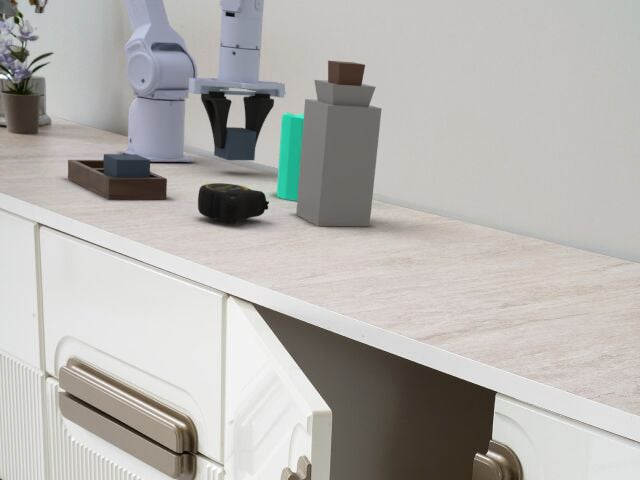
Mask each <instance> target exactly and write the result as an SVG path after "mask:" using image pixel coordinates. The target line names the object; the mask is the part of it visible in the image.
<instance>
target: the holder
mask: <svg viewBox="0 0 640 480" xmlns="http://www.w3.org/2000/svg"><path fill="white" fill-rule="evenodd" d="M67 179H68V180H69V181H70V182H73V183H75V184H77V185H79V186H81V187H82V188H84V189H87V190H88V191H91V192H92V193H95V194H97V195H99V196H101V197H103V198H105V199H106V200H109V201H111V200H114V201H115V200H122V201H123V200H167V197H168V196H167V194H168V193H167V192H168V191H167V189H168V178H166V177H164V176H161V175H159V174H157V173H155V172H153V171H150V178H112V177H110V176H108V175H106V174H104V159H67Z"/></svg>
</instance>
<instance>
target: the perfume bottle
mask: <svg viewBox="0 0 640 480" xmlns="http://www.w3.org/2000/svg"><path fill="white" fill-rule="evenodd" d="M365 68H366V64H364V63H358V62H353V61H341V60H327V80H325V79H324V80H323V79H313V81H314V86H315V94H316V98H317V99H315V98H314V99H311V98H310V99H309V98H305V99H304V107H303V108H304V109H303V114H304V121H303V134H302V147H301V160H300V173H299V186H298V199H297V201H296V212H295V213H296V214H295V215H296V216H298V217H300V218H302V219H303V220H306V221H307V222H308V223H311V224H313V225H315V226H316V227H370V226H371V225H370V224H371V217H372V216H371V215H372V206H373V196H374V187H375V176H376V167H377V157H378V147H379V138H380V129H381V128H380V127H381V118H382V117H381V116H382V107H377V106H374V105H370V104H371V102H372V99H373V96H374V93H375V90H376V86H374V85H368V84H364V83H363V79H364V74H365V70H366V69H365Z"/></svg>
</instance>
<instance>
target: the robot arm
mask: <svg viewBox="0 0 640 480" xmlns="http://www.w3.org/2000/svg"><path fill="white" fill-rule="evenodd" d="M123 3H124V6H125V9H126V13H127V17H128V20H129V24H130V28H131V31H132V35H131V37H130V38H129V40H127V42H126V43H125V45H124V47H123V50H124V55H125V59H126V64H125V65H126V66H125V75H126V80H127V82H128V85H129V87H130V88H131V90H133V96H135V99H134V98H133V100H132V102H130V103H131V104H130V105H129V108H128V118H127V119H128V120H127V148H122V149H121V152H122V154H137V155H139V156H142V157H144V158H147V159H149V160H150V163H151V162H152V163H153V162H155V163H156V162H158V163H159V162H161V163H163V162H164V163H167V162H168V163H173V162H174V163H193V162H194V161H195V160H194V158H193V157H190V156H188V155H184V153H185V152H184V151H185V128H186V127H185V125H186V99H189V93H191V94H193V95H200V100H201V103H202V104H203V107H204V109H205V111H206V114H207V118H208V120H209V123H210V127H211V128H210V129H211V133H212V138H213V145H214V148H215V147H217V148H221V149H224V148H225V142H226V130H227V127H228V119H229V114H230V110H231V105H232V100H231V99H228V98H227V95H228V96H243V98H242V99H243V100H242V101H243V108H244V128H245V129H248V130H251V131H255V132H256V144H255V148H256V147H257V143H258V140H259V136H260V134H261V130H262V128H263V126H264V123H265V121H266V119H267V118H268V116H269V114H270V112H271V111H272V109H273V108H274V105H275V99H274V97H275V98H280V99H281V98H282V99H283V98H284V95H285V96H286V91H285V84H286V83H284V82H280V83H278V82H279V81H277V82H276V81H267V80H266V81H264V80H260V65H261V49H262V37H263V36H262V35H263V34H262V33H263V22H264V21H263V20H264V8H265V7H264V6H265V0H219V6H220V9H221V17H220V19H221V20H220V21H221V22H220V40H219V41H220V42H219V45H220V46H219V57H218V58H219V60H218V77H216V78H215V77H212V78H211V77H209V78H208V77H204V78H203V77H198V67H197V63H196V60H195V59H194V57H193V56H192V54H191V53H190V52H189V50H188V48H187V45H186V42H185V39H184V38H183V36H181V34H179V33H178V32H177V31H176V29H174V28H173V27H172V26H171V25H170V22H169V19H168V15H167V10H166V7H165V4H164V0H123ZM282 83H283V84H282ZM230 89H239V90H230ZM244 90H247V91H244ZM272 97H273V98H272ZM284 99H285V98H284Z"/></svg>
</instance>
